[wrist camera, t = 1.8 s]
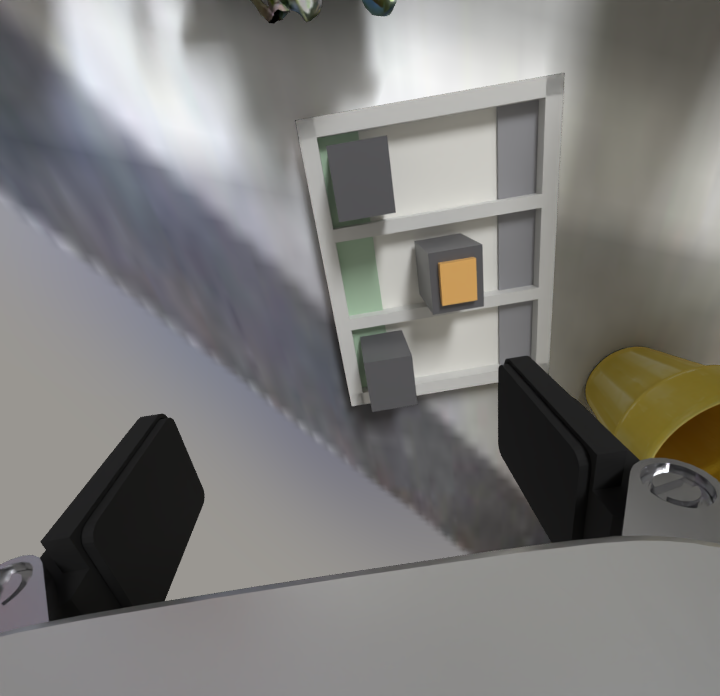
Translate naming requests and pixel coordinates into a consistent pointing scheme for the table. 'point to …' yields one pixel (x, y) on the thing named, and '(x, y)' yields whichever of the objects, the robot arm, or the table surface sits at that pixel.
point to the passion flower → (313, 8)
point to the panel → (446, 227)
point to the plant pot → (659, 406)
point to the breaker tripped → (450, 273)
